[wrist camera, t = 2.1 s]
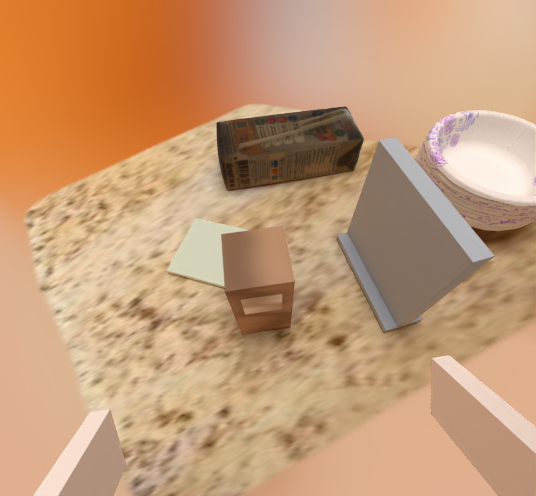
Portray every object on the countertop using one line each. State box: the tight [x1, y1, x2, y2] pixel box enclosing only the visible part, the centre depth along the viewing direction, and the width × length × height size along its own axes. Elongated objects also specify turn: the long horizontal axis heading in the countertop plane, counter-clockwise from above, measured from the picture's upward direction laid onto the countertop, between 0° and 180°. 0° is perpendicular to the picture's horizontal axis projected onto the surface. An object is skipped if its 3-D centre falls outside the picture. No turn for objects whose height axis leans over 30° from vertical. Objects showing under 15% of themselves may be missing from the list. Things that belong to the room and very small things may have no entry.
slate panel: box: [337, 137, 494, 333], centre depth 26 cm, size 12×4×14 cm, turn 16°
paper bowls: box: [415, 110, 536, 231], centre depth 35 cm, size 15×15×8 cm
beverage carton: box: [217, 107, 364, 190], centre depth 40 cm, size 8×19×7 cm, turn 100°
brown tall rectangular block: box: [221, 226, 295, 335], centre depth 26 cm, size 5×5×11 cm
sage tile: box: [167, 218, 248, 288], centre depth 35 cm, size 8×8×1 cm
